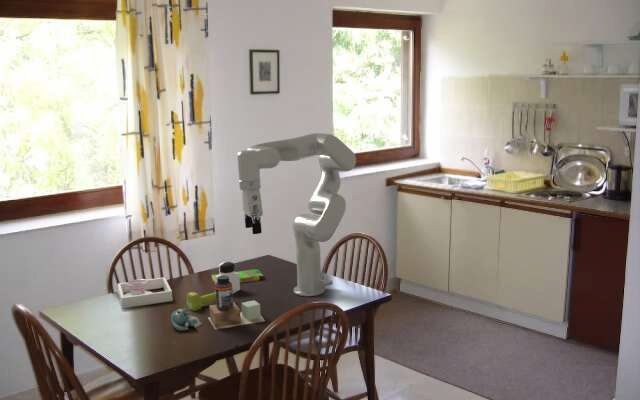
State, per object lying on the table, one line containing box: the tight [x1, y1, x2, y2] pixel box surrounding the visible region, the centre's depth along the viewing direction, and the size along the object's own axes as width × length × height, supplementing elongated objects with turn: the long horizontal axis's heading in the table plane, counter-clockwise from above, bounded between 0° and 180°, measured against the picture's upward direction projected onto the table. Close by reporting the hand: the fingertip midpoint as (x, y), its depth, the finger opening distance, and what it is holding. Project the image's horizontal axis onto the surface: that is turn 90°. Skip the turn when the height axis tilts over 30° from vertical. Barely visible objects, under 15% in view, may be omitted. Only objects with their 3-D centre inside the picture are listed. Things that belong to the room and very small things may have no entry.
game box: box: [211, 268, 264, 285], centre depth 288 cm, size 3×10×20 cm
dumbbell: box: [185, 291, 216, 312], centre depth 255 cm, size 16×8×7 cm, turn 129°
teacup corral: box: [117, 277, 174, 309], centre depth 269 cm, size 19×19×4 cm
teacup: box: [123, 278, 153, 297], centre depth 269 cm, size 12×12×6 cm
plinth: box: [207, 301, 266, 330], centre depth 239 cm, size 18×12×6 cm, turn 111°
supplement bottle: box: [214, 275, 234, 310], centre depth 236 cm, size 6×6×11 cm
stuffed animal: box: [170, 307, 203, 332], centre depth 237 cm, size 11×7×12 cm
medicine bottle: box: [215, 261, 241, 295], centre depth 272 cm, size 7×7×12 cm
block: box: [240, 299, 262, 320], centre depth 241 cm, size 5×5×5 cm
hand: (253, 230), depth 246 cm, fingers open, 9 cm apart
